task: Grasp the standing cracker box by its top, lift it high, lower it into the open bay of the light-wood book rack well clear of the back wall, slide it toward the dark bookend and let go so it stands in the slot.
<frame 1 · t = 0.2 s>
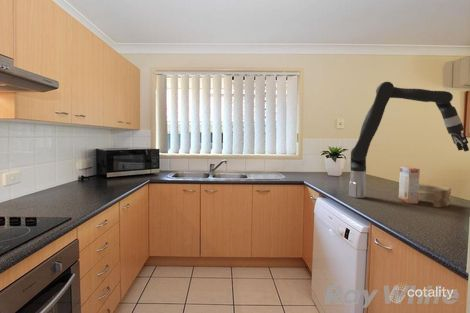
hand: (463, 150, 159), 31 cm above the worktop, tool tilted 20°, fingers open, 8 cm apart
book rack: (425, 202, 164), on the worktop
cracker box: (407, 201, 167), on the worktop
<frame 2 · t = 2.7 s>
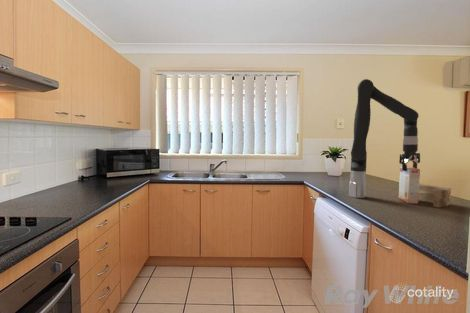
hand: (409, 170, 166), 19 cm above the worktop, tool pointing down, fingers open, 8 cm apart
cracker box: (407, 201, 167), on the worktop, touching gripper
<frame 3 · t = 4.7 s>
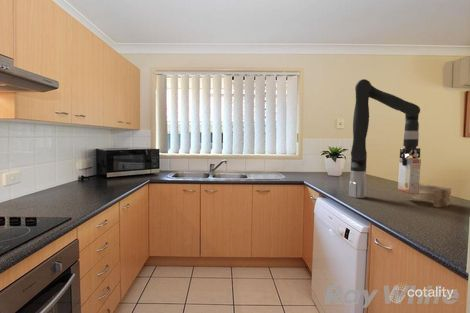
hand: (409, 165, 166), 22 cm above the worktop, tool pointing down, fingers closed on cracker box, 8 cm apart
cracker box: (407, 192, 167), point 6 cm above the worktop, touching gripper
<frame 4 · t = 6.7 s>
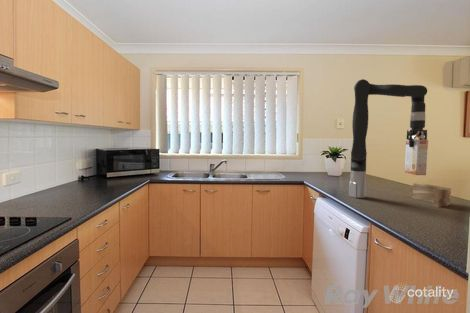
hand: (416, 147, 165), 33 cm above the worktop, tool pointing down, fingers closed on cracker box, 8 cm apart
cracker box: (415, 174, 167), point 17 cm above the worktop, touching gripper
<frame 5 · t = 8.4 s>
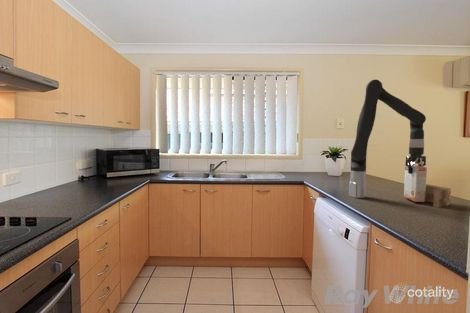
hand: (415, 173, 167), 17 cm above the worktop, tool pointing down, fingers closed on cracker box, 8 cm apart
cracker box: (414, 200, 168), point 1 cm above the worktop, touching gripper
when the fingers open (17 cm above the worktop, at t = 10.0 s): cracker box stays where it is, on the worktop.
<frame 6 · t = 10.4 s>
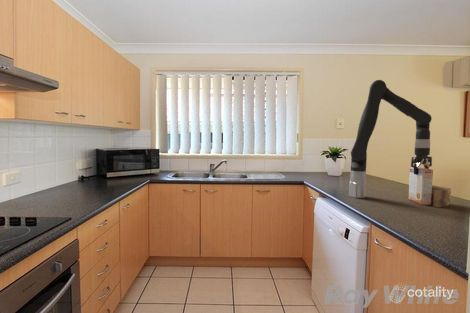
hand: (421, 174, 163), 17 cm above the worktop, tool pointing down, fingers open, 8 cm apart
cracker box: (419, 202, 165), on the worktop
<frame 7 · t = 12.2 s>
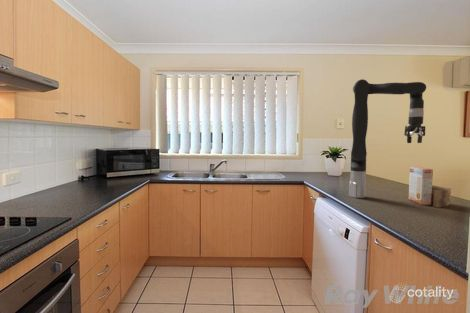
hand: (414, 143, 168), 36 cm above the worktop, tool pointing down, fingers open, 8 cm apart
nothing on the worktop moved.
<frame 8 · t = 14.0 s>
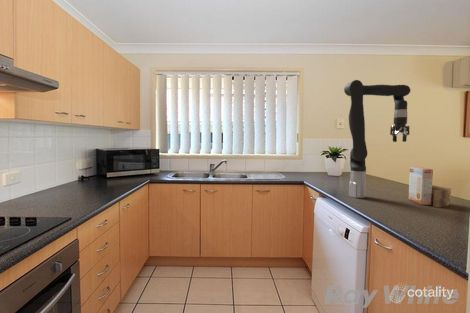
hand: (399, 141, 179), 36 cm above the worktop, tool pointing down, fingers open, 8 cm apart
nothing on the worktop moved.
at the end: cracker box inside the target area (0.6 cm from its centre), on the worktop; cracker box tilted 0°; the gripper is holding nothing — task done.
